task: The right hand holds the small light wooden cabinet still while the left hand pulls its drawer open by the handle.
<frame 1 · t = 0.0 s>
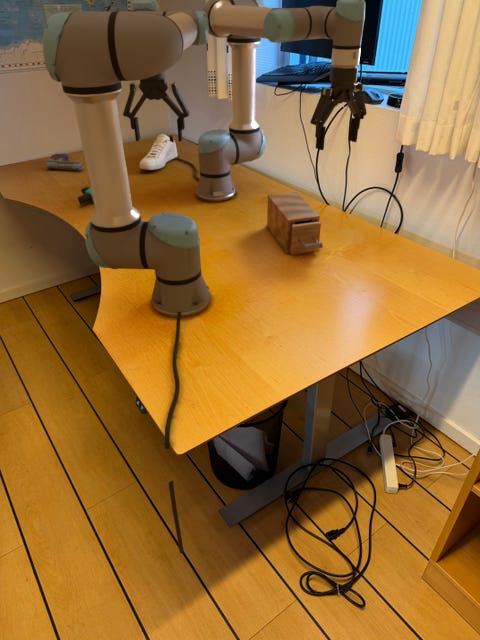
left hand: (159, 140, 150), 28 cm above the table, tool pointing down, fingers open, 13 cm apart
right hand: (336, 145, 143), 28 cm above the table, tool pointing down, fingers open, 13 cm apart
cabinet: (290, 237, 156), on the table
drawer: (298, 229, 148), point 6 cm above the table, slide at 1.4 cm
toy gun: (68, 166, 217), on the table
toy gun 2: (96, 195, 188), on the table
sneaker: (158, 164, 218), on the table
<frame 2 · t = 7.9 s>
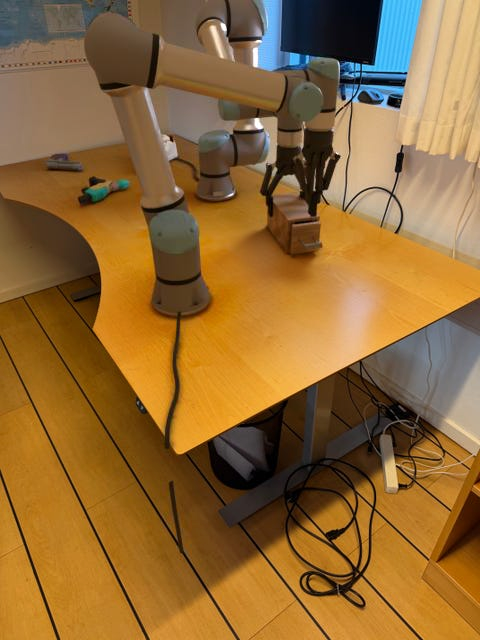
left hand: (312, 214, 135), 15 cm above the table, tool pointing down, fingers closed
right hand: (285, 213, 157), 6 cm above the table, tool pointing down, fingers closed on cabinet, 10 cm apart
cabinet: (290, 237, 156), on the table, touching right hand
everything else where it was.
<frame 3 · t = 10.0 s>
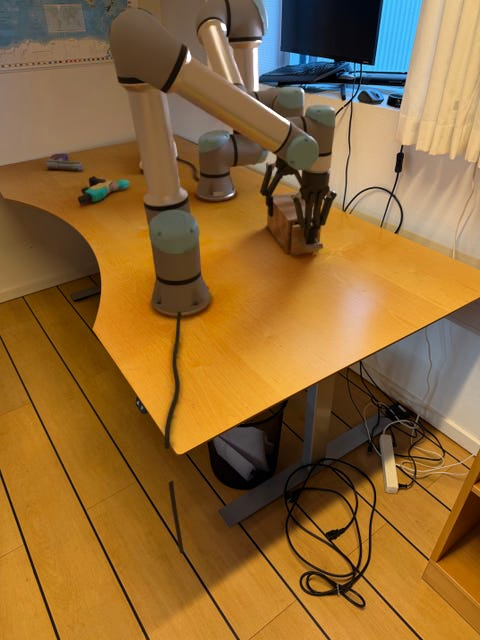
left hand: (309, 247, 141), 4 cm above the table, tool pointing down, fingers closed
right hand: (285, 213, 157), 6 cm above the table, tool pointing down, fingers closed on cabinet, 10 cm apart
cabinet: (290, 237, 156), on the table, touching right hand
drawer: (298, 230, 147), point 6 cm above the table, slide at 1.7 cm, touching left hand
everything else where it was.
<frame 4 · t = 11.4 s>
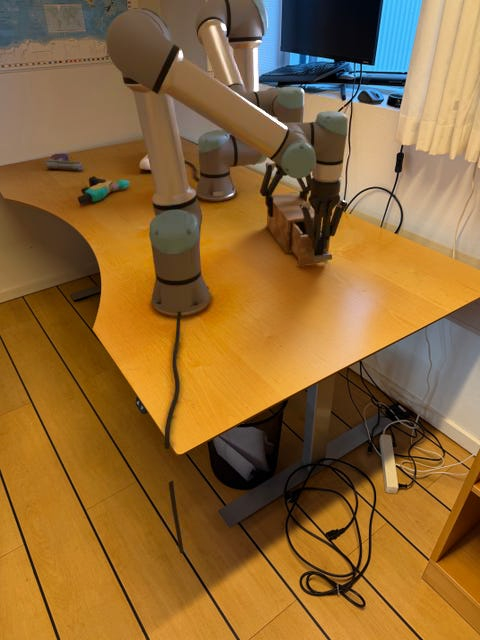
left hand: (318, 258, 135), 4 cm above the table, tool pointing down, fingers closed
right hand: (285, 213, 157), 6 cm above the table, tool pointing down, fingers closed on cabinet, 10 cm apart
cabinet: (290, 237, 156), on the table, touching right hand
drawer: (306, 239, 142), point 6 cm above the table, slide at 8.5 cm, touching left hand
everything else where it was.
when the right hand's fingers open (6 cm above the table, at t = 12.8 s): cabinet stays where it is, on the table.
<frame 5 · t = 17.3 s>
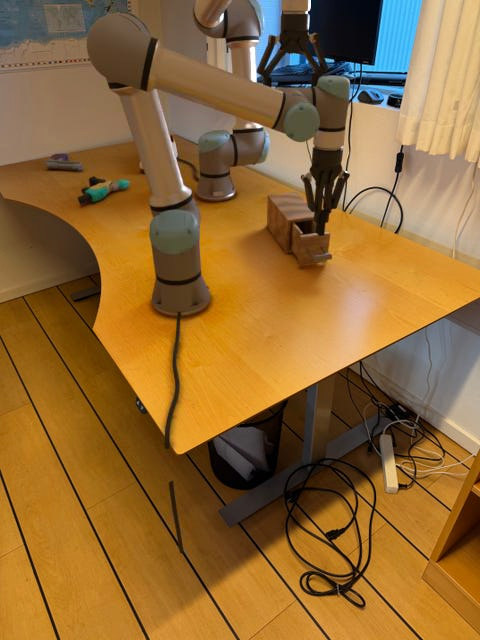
left hand: (319, 233, 131), 12 cm above the table, tool pointing down, fingers closed
right hand: (291, 100, 137), 40 cm above the table, tool pointing down, fingers open, 13 cm apart
cabinet: (290, 237, 156), on the table
drawer: (306, 239, 142), point 6 cm above the table, slide at 8.5 cm
everything else where it was.
at the end: drawer slide at 8.5 cm; cabinet tilted 0°; cabinet never tilted more than 1° during the clip; cabinet moved 0.1 cm from its start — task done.
